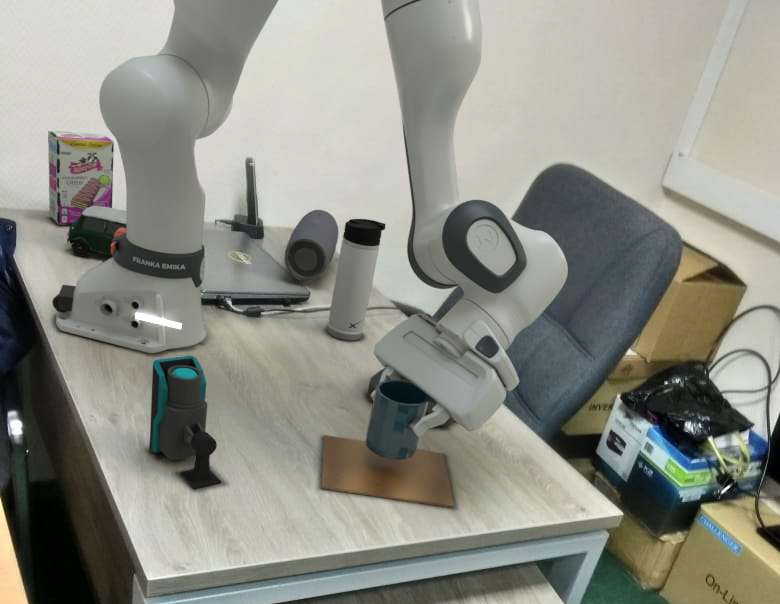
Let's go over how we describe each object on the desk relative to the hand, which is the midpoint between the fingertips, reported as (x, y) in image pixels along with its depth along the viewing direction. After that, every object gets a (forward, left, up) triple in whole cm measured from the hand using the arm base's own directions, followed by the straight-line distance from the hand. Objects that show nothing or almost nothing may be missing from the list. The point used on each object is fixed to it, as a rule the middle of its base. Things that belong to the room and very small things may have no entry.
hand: (394, 416), depth 104 cm
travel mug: (-5, +44, -8) cm, 45 cm away
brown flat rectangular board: (0, -1, -8) cm, 8 cm away
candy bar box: (-59, +78, -8) cm, 98 cm away
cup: (+1, 0, -5) cm, 5 cm away
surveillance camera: (-25, -7, -8) cm, 27 cm away
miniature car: (-48, +62, -8) cm, 79 cm away
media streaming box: (+7, +22, -8) cm, 24 cm away
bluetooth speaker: (-13, +75, -8) cm, 77 cm away
